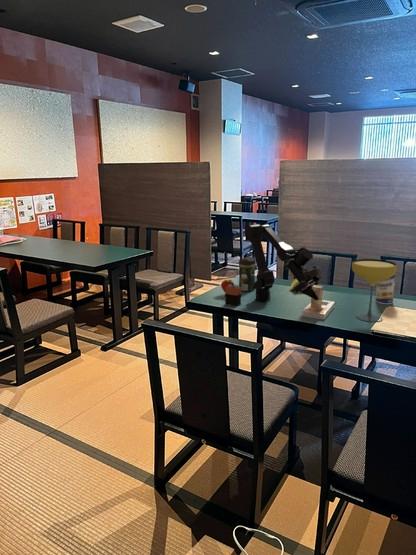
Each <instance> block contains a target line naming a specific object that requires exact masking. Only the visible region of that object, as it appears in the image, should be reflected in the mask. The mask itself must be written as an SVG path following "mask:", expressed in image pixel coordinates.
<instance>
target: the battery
mask: <svg viewBox="0 0 416 555" xmlns="http://www.w3.org/2000/svg"><path fill="white" fill-rule="evenodd" d="M224 296H225V300H224V302H225V305H226V306H232V307H238V306H240V305H242V291H241V287H239V284H234V286H232V285H228V286H227V287H225V292H224Z"/></svg>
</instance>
